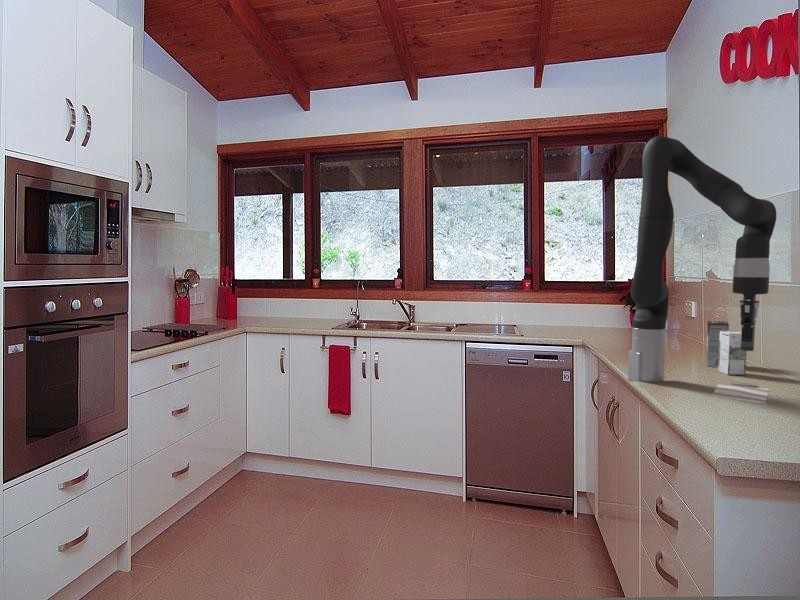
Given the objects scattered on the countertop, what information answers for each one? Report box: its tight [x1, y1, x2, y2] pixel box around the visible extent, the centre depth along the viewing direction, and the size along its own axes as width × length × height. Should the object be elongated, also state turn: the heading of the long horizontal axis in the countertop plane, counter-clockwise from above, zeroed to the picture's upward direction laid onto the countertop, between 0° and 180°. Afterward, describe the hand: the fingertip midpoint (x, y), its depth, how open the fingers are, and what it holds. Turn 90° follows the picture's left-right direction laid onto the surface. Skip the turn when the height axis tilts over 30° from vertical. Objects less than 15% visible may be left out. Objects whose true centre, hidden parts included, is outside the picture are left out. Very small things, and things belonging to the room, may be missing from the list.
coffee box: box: [705, 320, 730, 368], centre depth 168 cm, size 9×6×16 cm
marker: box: [740, 313, 756, 352], centre depth 119 cm, size 3×3×12 cm
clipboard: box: [711, 381, 770, 404], centre depth 127 cm, size 22×14×2 cm, turn 139°
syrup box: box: [717, 330, 748, 376], centre depth 154 cm, size 6×6×14 cm
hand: (747, 340), depth 120 cm, fingers closed on marker, 2 cm apart
